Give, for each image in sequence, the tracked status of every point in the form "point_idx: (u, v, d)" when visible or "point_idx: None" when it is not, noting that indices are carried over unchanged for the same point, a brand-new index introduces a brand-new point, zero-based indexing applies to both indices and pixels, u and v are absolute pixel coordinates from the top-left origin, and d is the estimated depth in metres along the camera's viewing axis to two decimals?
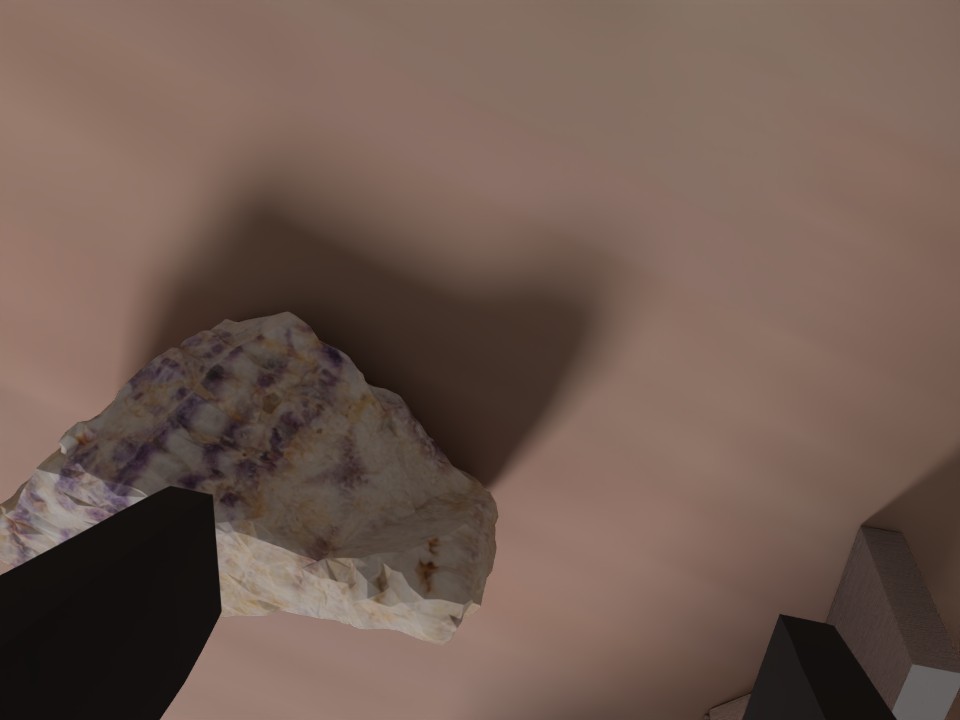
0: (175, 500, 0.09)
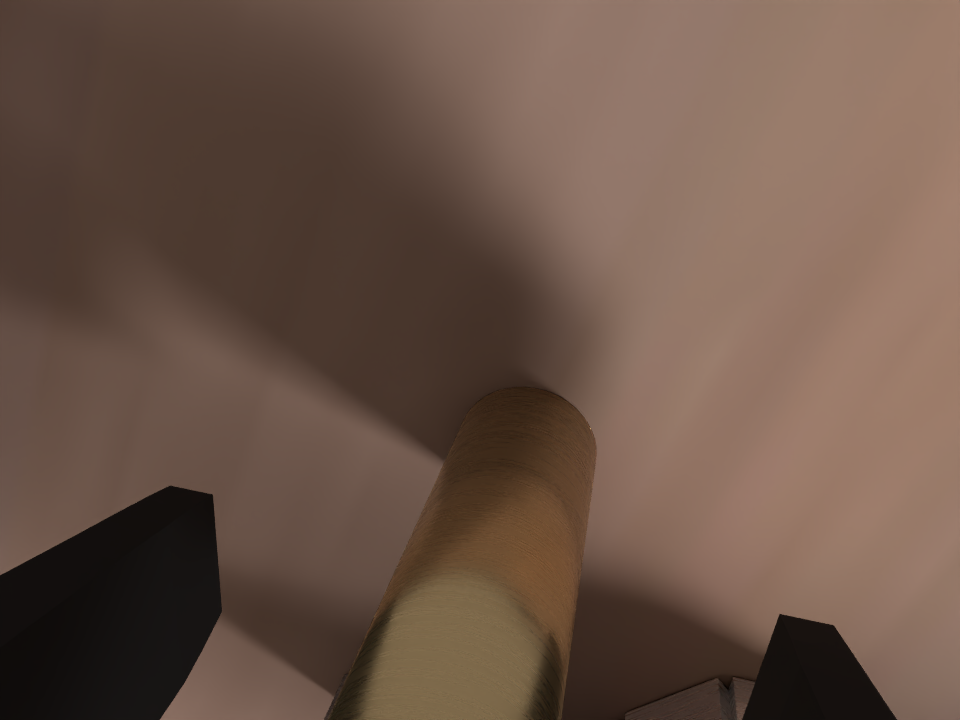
0: (174, 500, 0.09)
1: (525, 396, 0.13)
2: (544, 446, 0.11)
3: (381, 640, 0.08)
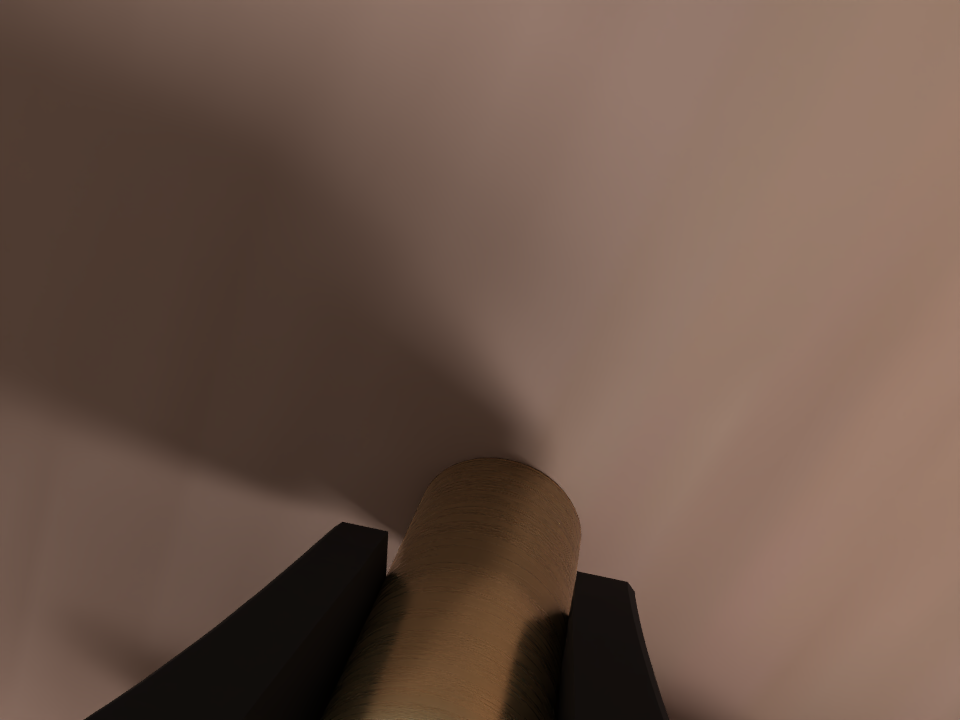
0: (355, 539, 0.09)
1: (495, 471, 0.11)
2: (515, 541, 0.09)
3: None
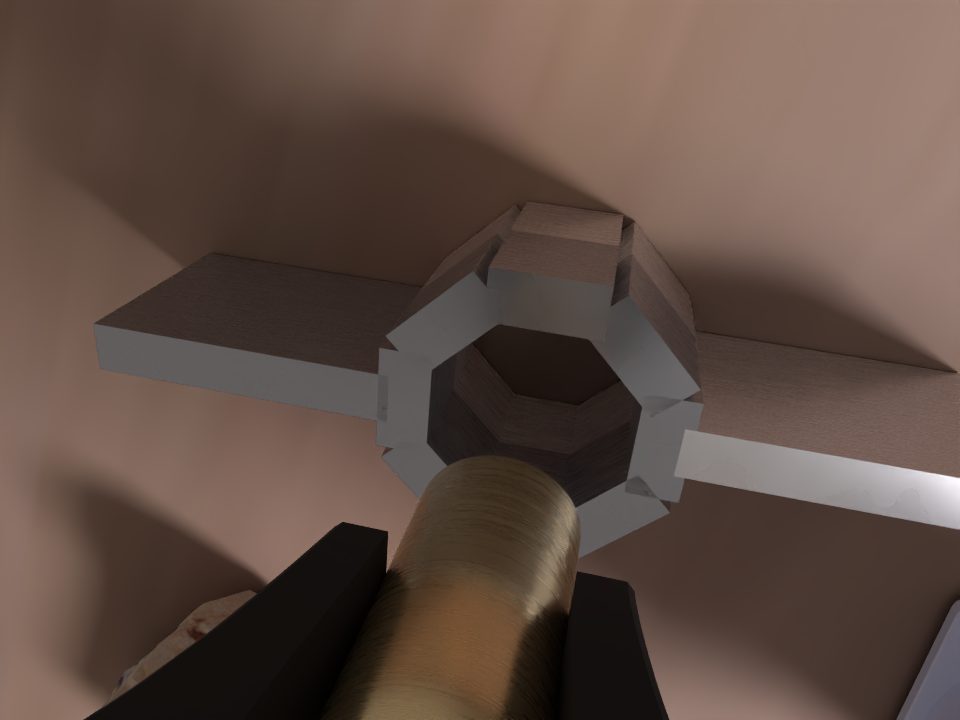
0: (355, 539, 0.09)
1: (492, 468, 0.11)
2: (512, 537, 0.09)
3: None
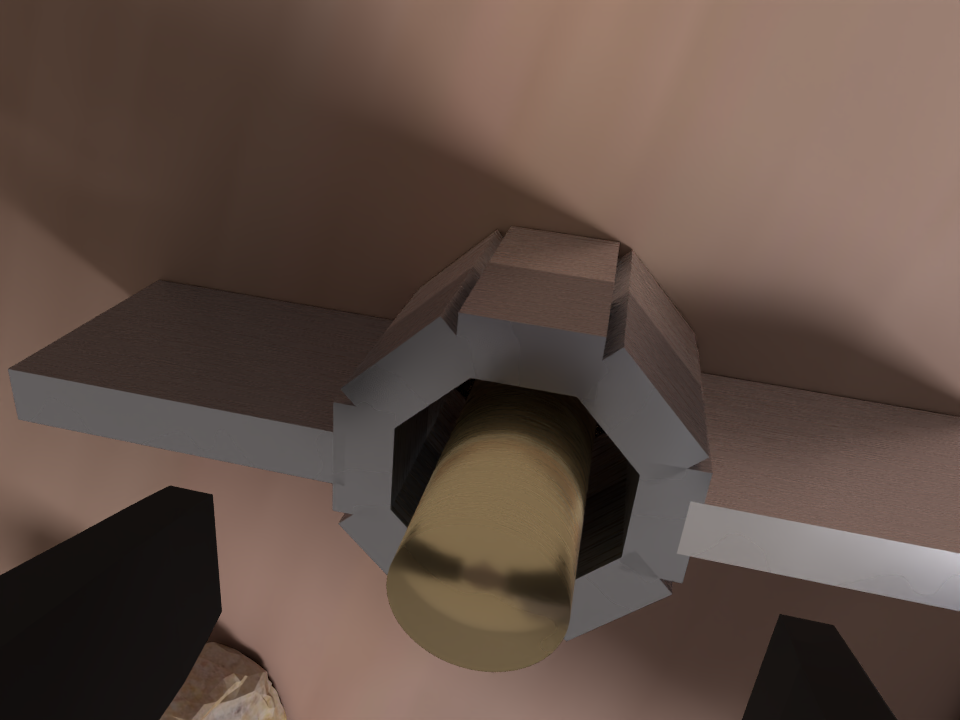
0: (174, 501, 0.09)
1: None
2: None
3: (444, 473, 0.11)
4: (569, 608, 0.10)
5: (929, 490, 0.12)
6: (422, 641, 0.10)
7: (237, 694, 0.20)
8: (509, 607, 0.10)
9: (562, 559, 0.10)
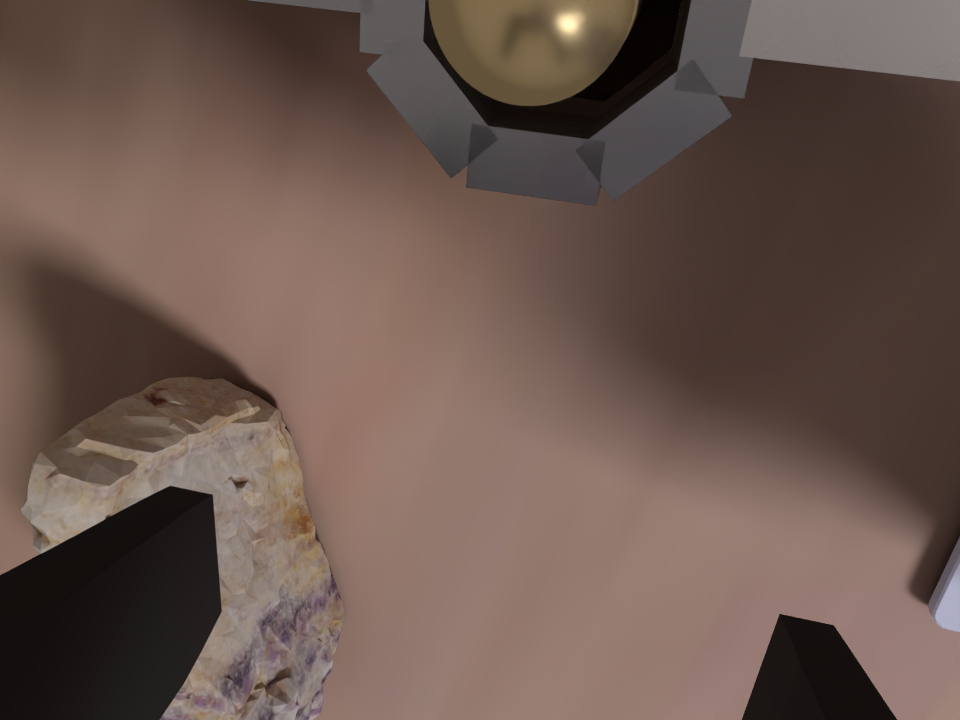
0: (175, 500, 0.09)
1: None
2: None
3: None
4: None
5: None
6: (467, 72, 0.09)
7: (250, 421, 0.19)
8: None
9: None
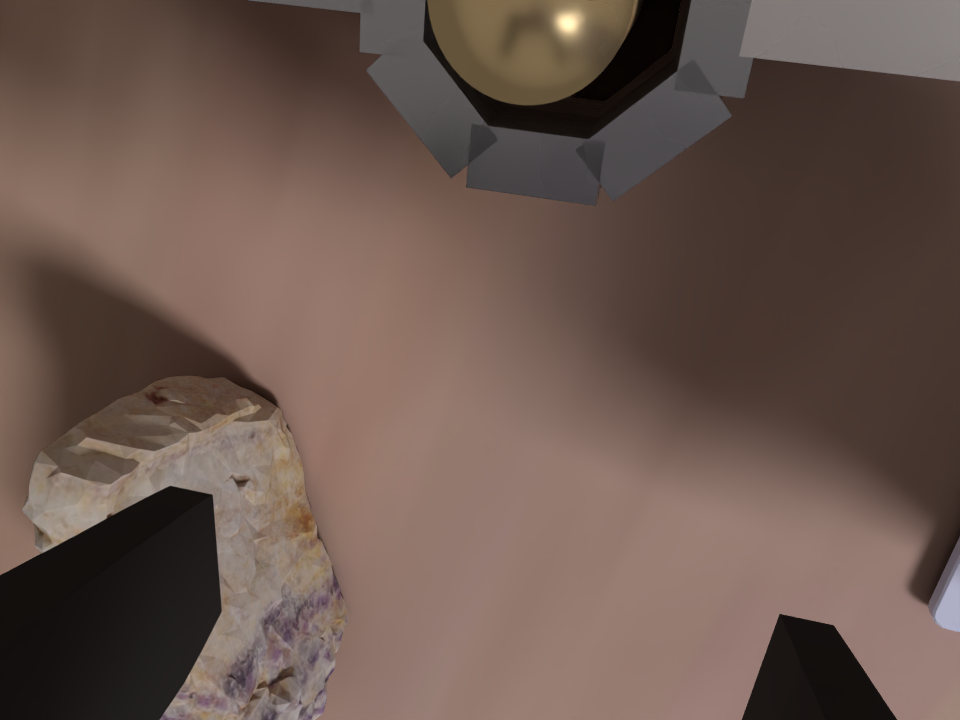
0: (175, 500, 0.09)
1: None
2: None
3: None
4: None
5: None
6: (466, 71, 0.09)
7: (251, 419, 0.19)
8: None
9: None
